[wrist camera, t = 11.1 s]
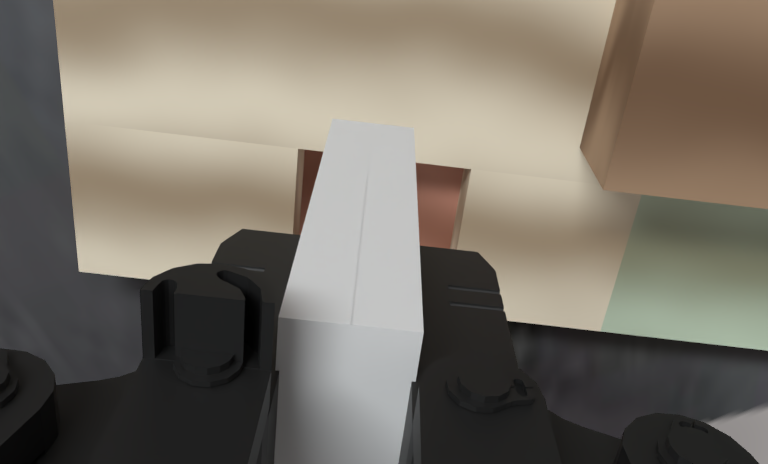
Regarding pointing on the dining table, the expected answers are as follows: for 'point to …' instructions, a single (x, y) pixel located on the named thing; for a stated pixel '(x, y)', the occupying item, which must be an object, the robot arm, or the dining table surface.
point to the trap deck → (432, 150)
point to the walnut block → (683, 102)
